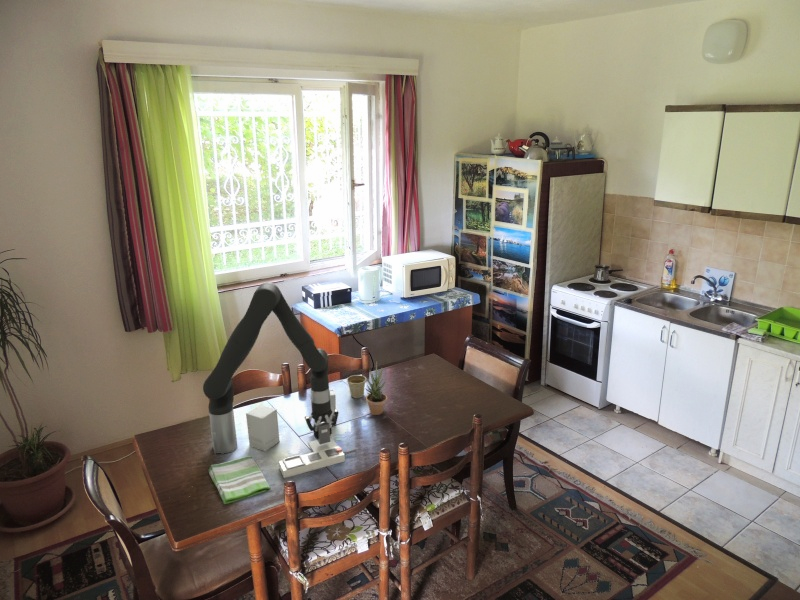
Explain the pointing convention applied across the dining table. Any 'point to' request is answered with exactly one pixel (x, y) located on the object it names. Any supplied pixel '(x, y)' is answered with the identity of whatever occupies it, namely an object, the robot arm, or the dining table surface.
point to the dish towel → (238, 479)
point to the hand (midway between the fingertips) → (323, 436)
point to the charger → (323, 433)
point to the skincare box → (332, 403)
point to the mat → (322, 445)
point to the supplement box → (262, 427)
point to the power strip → (312, 461)
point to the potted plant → (376, 395)
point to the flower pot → (356, 385)
